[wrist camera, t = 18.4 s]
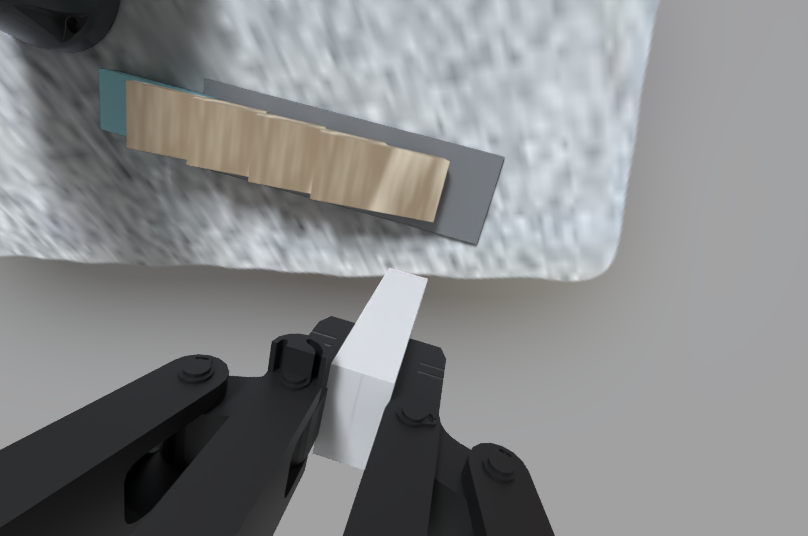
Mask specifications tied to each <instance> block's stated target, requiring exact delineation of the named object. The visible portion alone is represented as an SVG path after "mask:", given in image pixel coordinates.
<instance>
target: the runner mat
mask: <svg viewBox="0 0 808 536" xmlns="http://www.w3.org/2000/svg"><path fill="white" fill-rule="evenodd" d="M204 95H208V96H212V97H215V98H219V99H218V100H221V101H226V102H230V103H234V104H239V105H243V106H247V107H251V108H256V109H260V110H264V111H268V113H269V114H273V115H277V116H282V117H286V118H290V119H295V120H299V121H303V122H308V123H312V124H316V125H321V126H325V127H326V129H329V130H333V131H338V132H342V133H346V134H351V135H355V136H359V137H364V138H368V139H373V140H377V141H381V142H385V143H386V144H387V145H389V146H394V147H398V148H402V149H407V150H411V151H415V152H420V153H424V154H428V155H433V156H437V157H442V158H445V159H447V160H448V161H450V163H449V167H448V170H447V174H446V178H445V181H444V185H443V189H442V192H441V196H440V199H439V203H438V207H437V210H436V214H435V218H434V221H433V222H429V221H424V220H418V219H413V218H408V217H403V216H397V215H392V214H387V213H381V212H376V211H371V210H365V209H360V208H355V207H349V206H344V205H339V204H334V203H330V204H334V205H337V206H341V207H345V208H348V209H352V210H355V211H359V212H363V213H366V214H370V215H373V216H377V217H380V218H384V219H388V220H391V221H395V222H398V223H402V224H405V225H409V226H413V227H416V228H420V229H423V230H427V231H430V232H434V233H438V234H441V235H445V236H448V237H452V238H456V239H459V240H463V241H466V242H470V243H473V244H477V241H478V238H479V235H480V232H481V229H482V226H483V223H484V220H485V216H486V213H487V210H488V207H489V204H490V201H491V198H492V195H493V191H494V188H495V185H496V182H497V179H498V176H499V173H500V170H501V166H502V163H503V160H504V157H503V156H499V155H495V154H491V153H487V152H484V151H480V150H476V149H472V148H468V147H465V146H461V145H457V144H453V143H449V142H445V141H442V140H438V139H434V138H430V137H426V136H423V135H419V134H415V133H411V132H407V131H404V130H400V129H396V128H392V127H388V126H384V125H381V124H377V123H373V122H369V121H365V120H362V119H358V118H354V117H350V116H346V115H342V114H339V113H335V112H331V111H327V110H323V109H320V108H316V107H312V106H308V105H304V104H300V103H297V102H293V101H289V100H285V99H281V98H278V97H274V96H270V95H266V94H262V93H258V92H255V91H251V90H247V89H243V88H239V87H236V86H232V85H228V84H224V83H220V82H217V81H213V80H209V79H205V80H204ZM209 170H211V169H209ZM212 171H216V170H212ZM216 172H219V173H223V174H227V175H230V176H234V177H237V178H241V179H244V180H248V177H247V176H242V175H237V174H232V173H226V172H221V171H216ZM266 186H267V185H266ZM270 187H273V186H270ZM273 188H277V189H280V190H284V191H287V192H291V193H295V194H298V195H302V196H305V197H309V198H310V195H311V194H309V193H304V192H299V191H294V190H288V189H283V188H278V187H273ZM327 203H328V202H327Z"/></svg>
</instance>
